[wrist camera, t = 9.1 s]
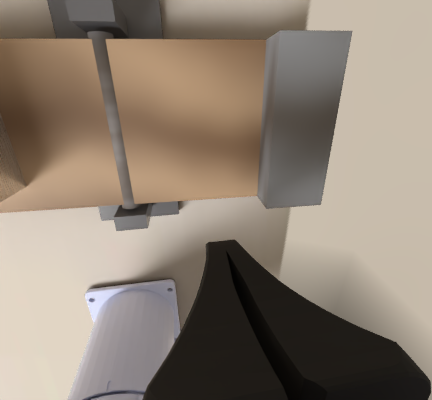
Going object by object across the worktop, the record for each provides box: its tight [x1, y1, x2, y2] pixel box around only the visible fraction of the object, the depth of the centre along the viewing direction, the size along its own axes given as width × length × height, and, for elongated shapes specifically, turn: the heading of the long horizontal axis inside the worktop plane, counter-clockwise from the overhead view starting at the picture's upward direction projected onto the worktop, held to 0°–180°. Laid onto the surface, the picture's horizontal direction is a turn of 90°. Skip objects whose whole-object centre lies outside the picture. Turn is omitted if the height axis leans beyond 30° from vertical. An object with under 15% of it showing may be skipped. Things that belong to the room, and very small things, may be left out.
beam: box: [0, 30, 352, 213], centre depth 13 cm, size 10×26×3 cm, turn 91°
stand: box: [47, 0, 179, 231], centre depth 15 cm, size 14×6×4 cm, turn 1°
